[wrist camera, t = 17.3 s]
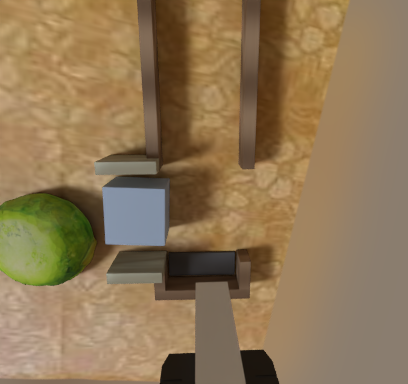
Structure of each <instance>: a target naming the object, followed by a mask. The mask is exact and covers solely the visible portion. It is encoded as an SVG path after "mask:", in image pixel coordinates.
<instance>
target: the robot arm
mask: <svg viewBox="0 0 408 384" xmlns="http://www.w3.org/2000/svg"><path fill="white" fill-rule="evenodd" d="M160 384H279V381H278V378H277V375H276V371H275V368H274V365H273V362H272V360H271V359H270V358H269V356H268V355H267V354H266V352H265V351H264V350H240V349H239V343H238V338H237V332H236V327H235V321H234V316H233V310H232V305H231V299H230V294H229V288H228V283H227V282H198V283H196V312H195V353H181V354H169V355H168V357H167V359H166V360H165V362H164V364H163V365H162V370H161V378H160Z"/></svg>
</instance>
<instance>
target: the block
mask: <svg viewBox="0 0 408 384" xmlns="http://www.w3.org/2000/svg"><path fill="white" fill-rule="evenodd" d="M102 189H103V207H104V225H105V244H113V245H150V246H165V243H166V239H167V235H168V231H169V204H170V178H142V177H115V178H114V179H113V180H111V181H110V182H109V183H107V184H106V185H105V186H103V187H102Z"/></svg>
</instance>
